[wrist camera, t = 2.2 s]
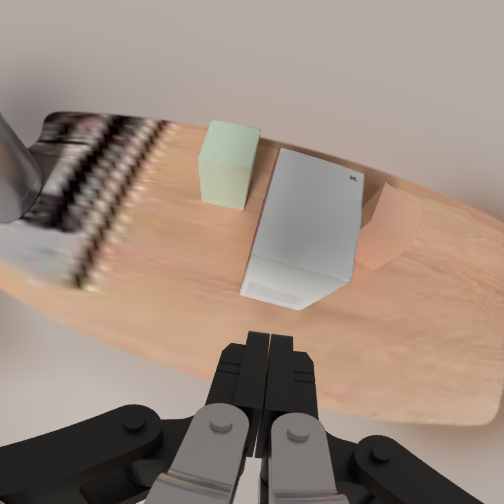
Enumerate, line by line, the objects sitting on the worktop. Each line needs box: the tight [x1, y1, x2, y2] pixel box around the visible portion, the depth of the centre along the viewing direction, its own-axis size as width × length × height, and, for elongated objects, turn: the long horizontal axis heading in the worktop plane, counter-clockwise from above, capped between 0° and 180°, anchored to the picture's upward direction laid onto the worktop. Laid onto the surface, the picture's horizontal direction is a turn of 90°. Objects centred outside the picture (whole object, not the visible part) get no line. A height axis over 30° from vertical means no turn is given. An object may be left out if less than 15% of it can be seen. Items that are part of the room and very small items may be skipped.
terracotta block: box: [355, 182, 423, 271], centre depth 29 cm, size 4×4×8 cm
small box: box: [239, 147, 364, 310], centre depth 25 cm, size 8×6×13 cm
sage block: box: [198, 120, 261, 210], centre depth 29 cm, size 4×4×8 cm
